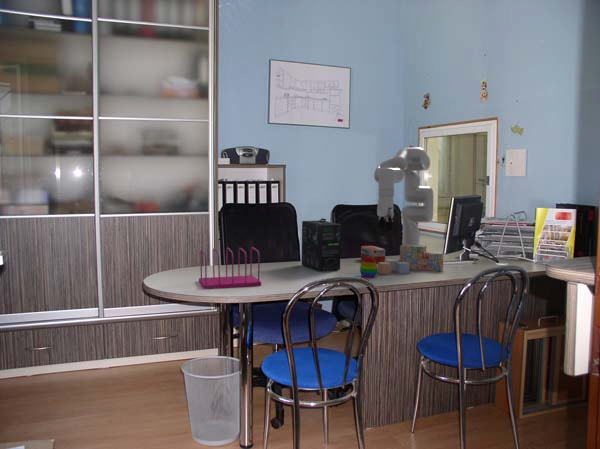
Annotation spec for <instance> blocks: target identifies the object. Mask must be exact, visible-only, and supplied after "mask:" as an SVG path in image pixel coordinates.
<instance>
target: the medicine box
mask: <svg viewBox="0 0 600 449" xmlns="http://www.w3.org/2000/svg"><path fill="white" fill-rule="evenodd" d="M366 257H372V258H373V259H374V260H375V262H376V264H378V262H385V260H386V249H385V248H382V247H379V246H375V245H361V248H360V260H361V261H363V260H364V259H365V258H366Z"/></svg>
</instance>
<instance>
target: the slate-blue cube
mask: <svg viewBox="0 0 600 449" xmlns="http://www.w3.org/2000/svg"><path fill="white" fill-rule="evenodd" d="M395 272H396V273H399V274H398V275H409V274H408V273H410V268H409V263H407V262H400V261H398V262H396V268H395Z"/></svg>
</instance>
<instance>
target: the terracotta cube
mask: <svg viewBox="0 0 600 449" xmlns="http://www.w3.org/2000/svg"><path fill="white" fill-rule="evenodd" d="M377 269H378V273H380V274H390V275H392V274H391V263H388V262H378V263H377Z"/></svg>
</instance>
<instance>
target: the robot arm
mask: <svg viewBox="0 0 600 449" xmlns="http://www.w3.org/2000/svg"><path fill="white" fill-rule="evenodd" d="M430 167H431V158H430V157H429V155H428V154H427V152H426V150H425V149H424V148H422V147H403V148H400V149H399V150H398V151H397V153H396V154H395V155H394V157H392V158H389V159H387V160H384V161H382V162H380V163H379V164H378V166H377V167H376V168H375V171H374V174H373V178H374V181H376V182H377V183H378V192H377V193H378V195H377V196H378V200H377V209H376V215H377V216H378V229H385V231H392V230H393V223H394V216H395V213H394V197H395V184H398V183H400V182H402V181H403V179H404V200H405V202H407V203H409V205H405V206H403V207H402V209H401V220H402V245H404V244H405V245H420V239H421V238H420V236H421V235H420V232H421V231H420V228H419V226H418V225H417V223H423V224H425V223H426V224H428V223H431V222H432V221H433V217H434V191H433V188H432V187H430V186H429V185H428V186H426V185H424V186H423V185H422V186H421V176H420V174H419V173H418V172H421V171H422V172H425V171H428V170H429V168H430ZM410 203H411V204H410ZM412 204H415V205H412ZM416 204H423V205H416ZM385 219H386V220H385ZM398 261H400V257H399V260H398Z"/></svg>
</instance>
